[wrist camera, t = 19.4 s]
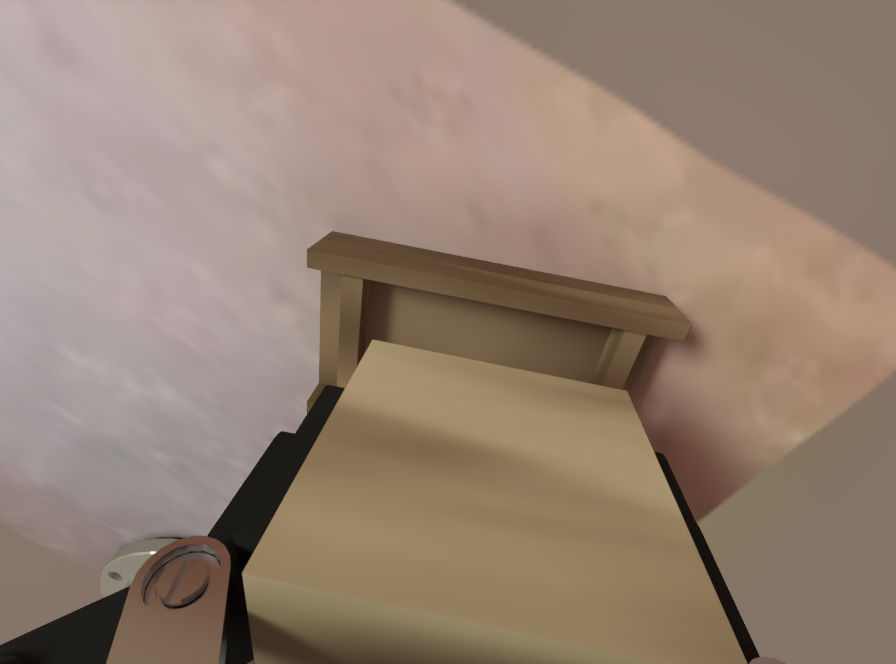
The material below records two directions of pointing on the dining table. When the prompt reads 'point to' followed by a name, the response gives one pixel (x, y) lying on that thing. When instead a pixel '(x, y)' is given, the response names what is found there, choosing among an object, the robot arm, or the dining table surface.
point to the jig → (482, 314)
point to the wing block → (480, 529)
